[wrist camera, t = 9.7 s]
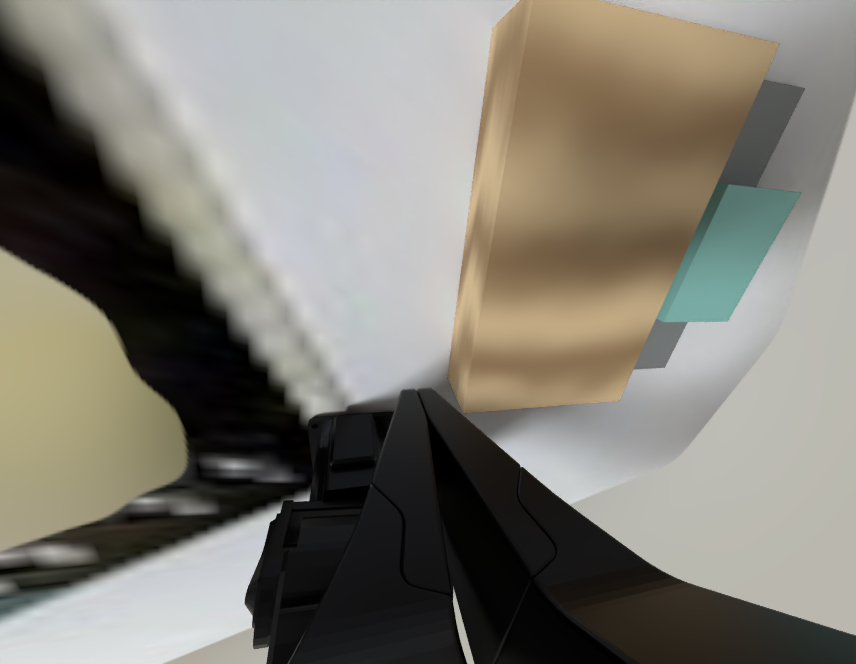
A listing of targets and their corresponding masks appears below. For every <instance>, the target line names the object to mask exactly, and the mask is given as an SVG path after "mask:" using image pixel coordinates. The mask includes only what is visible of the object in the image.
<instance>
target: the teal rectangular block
mask: <svg viewBox="0 0 856 664" xmlns="http://www.w3.org/2000/svg"><path fill="white" fill-rule="evenodd" d="M800 194H801V192H792V191H783V190H774V189H765V188H756V187H747V186H738V185H729V184H717V185H716V187H715V189H714V191H713V193H712V196H711V198H710V200H709V202H708V205H707V207H706V209H705V211H704V213H703V216H702V218H701V220H700V222H699V225H698V227H697V229H696V231H695V233H694V236H693V238H692V240H691V242H690V245H689V247H688V249H687V251H686V253H685V256H684V258H683V260H682V262H681V265H680V267H679V269H678V271H677V273H676V276H675V278H674V280H673V282H672V285H671V287H670V289H669V291H668V293H667V296H666V298H665V300H664V302H663V305H662V307H661V309H660V311H659V313H658V316H657V318H656V319H658V320H660V321H662V322H722V321H728V320H729V318H730V317H731V315H732V313H733V311H734V310H735V308H736V306H737V304H738V303H739V301H740V299H741V297H742V296H743V294H744V292H745V290H746V289H747V287H748V285H749V283H750V282H751V280H752V278H753V276H754V275H755V273H756V271H757V269H758V268H759V266H760V264H761V262H762V261H763V259H764V257H765V255H766V254H767V252H768V250H769V248H770V247H771V245H772V243H773V241H774V240H775V238H776V236H777V234H778V233H779V231H780V229H781V227H782V226H783V224H784V222H785V220H786V219H787V217H788V215H789V213H790V212H791V210H792V208H793V206H794V205H795V203H796V201H797V199H798V198H799V196H800Z"/></svg>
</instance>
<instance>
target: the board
mask: <svg viewBox="0 0 856 664" xmlns="http://www.w3.org/2000/svg"><path fill="white" fill-rule="evenodd" d="M779 45H780V44H779V43H775V42H770V41H766V40H762V39H758V38H754V37H750V36H745V35H741V34H737V33H733V32H729V31H725V30H720V29H716V28H712V27H708V26H704V25H700V24H695V23H691V22H687V21H683V20H679V19H675V18H670V17H666V16H662V15H658V14H654V13H650V12H645V11H641V10H637V9H633V8H629V7H625V6H620V5H616V4H612V3H608V2H604V1H600V0H520V1H519V2H518V3H517V4H516V5H515V6H514V7H513V8H512V9H511V10H510V11H509V12H508V13H507V14H506V15H505V16H504V17H503V18H502V19H501V20H500V21H499V22H498V23H497V24H496V25H495V26H494V27H493V30H492V38H491V46H490V53H489V61H488V69H487V76H486V84H485V92H484V100H483V107H482V115H481V123H480V130H479V138H478V146H477V153H476V161H475V169H474V177H473V184H472V192H471V200H470V207H469V215H468V223H467V230H466V238H465V246H464V253H463V261H462V269H461V277H460V284H459V292H458V300H457V307H456V315H455V323H454V330H453V338H452V346H451V354H450V361H449V369H448V377H447V378H448V380H449V382H450V385H451V387H452V389H453V392H454V394H455V396H456V398H457V401H458V403H459V405H460V408H461V410H462V412H463V413H475V412H487V411H499V410H511V409H524V408H536V407H548V406H560V405H573V404H585V403H597V402H609V401H619V400H620V398H621V396H622V393H623V391H624V389H625V387H626V384H627V382H628V380H629V378H630V376H631V373H632V371H633V369H634V367H635V364H636V362H637V360H638V358H639V356H640V353H641V351H642V349H643V347H644V345H645V342H646V340H647V338H648V336H649V333H650V331H651V329H652V327H653V325H654V322H655V320H656V318H657V316H658V313H659V311H660V309H661V307H662V305H663V302H664V300H665V298H666V296H667V293H668V291H669V289H670V287H671V285H672V282H673V280H674V278H675V276H676V273H677V271H678V269H679V267H680V265H681V262H682V260H683V258H684V256H685V253H686V251H687V249H688V247H689V245H690V242H691V240H692V238H693V236H694V233H695V231H696V229H697V227H698V225H699V222H700V220H701V218H702V216H703V213H704V211H705V209H706V207H707V205H708V202H709V200H710V198H711V196H712V193H713V191H714V189H715V187H716V185H717V182H718V180H719V178H720V176H721V173H722V171H723V169H724V167H725V165H726V162H727V160H728V158H729V156H730V153H731V151H732V149H733V147H734V145H735V142H736V140H737V138H738V136H739V133H740V131H741V129H742V127H743V125H744V122H745V120H746V118H747V116H748V113H749V111H750V109H751V107H752V105H753V102H754V100H755V98H756V96H757V94H758V91H759V89H760V87H761V85H762V82H763V80H764V78H765V76H766V74H767V71H768V69H769V67H770V65H771V62H772V60H773V58H774V56H775V54H776V51H777V49H778V47H779Z"/></svg>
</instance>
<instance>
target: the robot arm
mask: <svg viewBox="0 0 856 664" xmlns="http://www.w3.org/2000/svg"><path fill="white" fill-rule="evenodd" d="M389 418H392V419H389ZM313 424H318V425H313ZM308 434H309V442H310V449H311V457H312V465H313V479H312V486H311V493H310V501H304V502H294V500H288V501H284V502H283V505H282V509H281V512H280V514H277V516H276V519H275V520H273V521H271V522H270V525H269V529H268V534H267V538H266V542H265V546H264V549H263V552H262V555H261V558H260V560H259V562H258V565H257V567H256V570H255V572H254V574H253V577H252V579H251V582H250V584H249V586H248V589H247V592H246V597H245V605H246V607H247V608H248V610H249V611H250V613H251V614H252V615H253V621H252V627H253V628H254V638H253V648H254V649H259V648H265V647H268V646H269V650H268V657H267V664H467V662H466V659H465V656H464V652H463V649H462V646H461V642H460V638H459V633H458V629H457V624H456V619H455V612H454V606H453V587H454V590H455V594H456V598H457V601H458V605H459V609H460V612H461V616H462V619H463V623H464V627H465V630H466V634H467V638H468V642H469V645H470V649H471V653H472V656H473V660H474V664H856V635H852V634H849V633H846V632H843V631H839V630H836V629H833V628H830V627H826V626H823V625H820V624H817V623H814V622H810V621H807V620H804V619H801V618H798V617H795V616H791V615H788V614H785V613H782V612H779V611H776V610H772V609H769V608H766V607H763V606H760V605H756V604H753V603H750V602H747V601H744V600H741V599H737V598H734V597H731V596H728V595H725V594H721V593H718V592H715V591H712V590H709V589H706V588H702V587H699V586H696V585H693V584H690V583H687V582H684V581H682V580H680V579H677V578H675V577H673V576H671V575H669V574H667V573H665V572H663V571H661V570H660V569H658V568H656V567H655V566H653V565H651V564H650V563H648V562H646V561H645V560H643V559H642V558H641V557H639V556H638V555H637V554H635V553H634V552H632V551H631V550H630V549H628V548H627V547H626V546H624V545H623V544H622V543H620V542H619V541H617V540H616V539H615V538H613V537H612V536H610V535H609V534H608V533H607V532H605V531H604V530H602V529H601V528H600V527H598V526H597V525H595V524H594V523H593V522H591V521H590V520H589V519H587V518H586V517H585V516H583V515H582V514H581V513H579V512H578V511H577V510H575V509H574V508H573V507H571V506H570V505H569V504H567V503H566V502H565V501H563V500H562V499H561V498H559V497H558V496H557V495H555V494H554V493H553V492H552V491H551V490H549V489H548V488H547V487H546V486H545V485H543V484H542V483H541V482H540V481H539V480H537V479H536V478H535V477H534V476H533V475H531V474H530V473H529V472H528V471H527V470H526V469H525V468H523V467H521V468H520V464H519V463H517V462H516V461H515V460H514V459H513V458H512V457H510V456H509V455H508V454H507V453H506V452H505V451H504V450H502V449H501V448H500V447H499V446H498V445H497V444H496V443H494V442H493V441H492V440H491V439H490V438H489V437H487V436H486V435H485V434H484V433H483V432H482V431H481V430H479V429H478V428H477V427H476V426H475V425H474V424H472V423H471V422H470V421H469V420H468V419H467V418H466V417H464V416H463V415H462V414H461V413H460V412H459V411H457V410H456V409H455V408H454V407H453V406H452V405H451V404H449V403H448V402H447V401H446V400H445V399H444V398H442V397H441V396H440V395H439V394H438V393H437V392H436V391H434V390H433V389H432V388H422V389H418V390H415V389H406V390H402V391H401V393H400V396H399V399H398V402H397V405H396V408H395V411H394V412H378V413H365V414H352V415H339V416H326V417H314V418H311V419H310V420H309V422H308Z"/></svg>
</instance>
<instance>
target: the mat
mask: <svg viewBox="0 0 856 664" xmlns="http://www.w3.org/2000/svg"><path fill="white" fill-rule="evenodd" d="M804 90H805V88H800V87H795V86H790V85H785V84H780V83H775V82H771V81H766V80H763V82H762V85H761V87H760V89H759V91H758V94H757V96H756V98H755V100H754V102H753V105H752V107H751V109H750V111H749V113H748V116H747V118H746V120H745V122H744V125H743V127H742V129H741V131H740V133H739V136H738V138H737V140H736V142H735V145H734V147H733V149H732V151H731V153H730V156H729V158H728V160H727V162H726V165H725V167H724V169H723V171H722V173H721V176H720V178H719V180H718V182H717V184H729V185H738V186H747V187H756V185H757V183H758V181H759V179H760V177H761V175H762V173H763V171H764V169H765V167H766V165H767V163H768V161H769V159H770V157H771V155H772V153H773V151H774V149H775V147H776V145H777V143H778V141H779V139H780V137H781V135H782V133H783V131H784V129H785V128H786V126H787V124H788V122H789V120H790V118H791V116H792V114H793V112H794V110H795V108H796V106H797V104H798V102H799V100H800V98H801V96H802V94H803V92H804ZM686 324H687V322H662V321H660V320H658V319H656V320H655V322H654V325H653V327H652V329H651V331H650V333H649V336H648V338H647V340H646V342H645V345H644V347H643V349H642V351H641V353H640V356H639V358H638V360H637V362H636V364H635V367H634V369H648V368H665V366H666V364H667V362H668V360H669V358H670V356H671V354H672V352H673V350H674V348H675V346H676V344H677V342H678V340H679V338H680V336H681V334H682V332H683V330H684V328H685V326H686Z"/></svg>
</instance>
